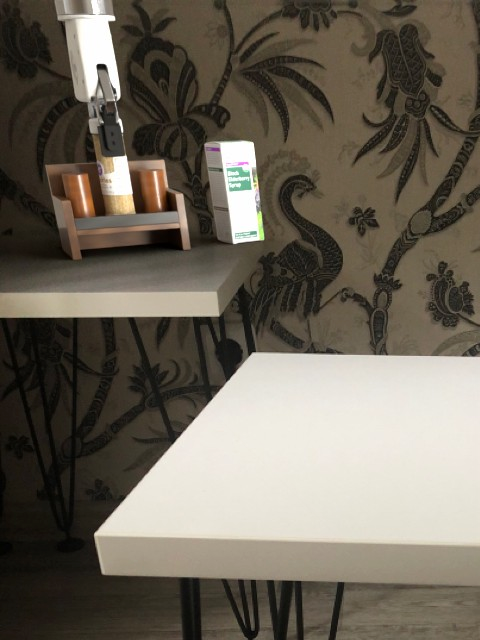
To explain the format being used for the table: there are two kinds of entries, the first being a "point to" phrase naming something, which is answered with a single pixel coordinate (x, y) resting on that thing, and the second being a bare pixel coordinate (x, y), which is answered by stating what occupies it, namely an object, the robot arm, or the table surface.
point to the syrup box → (234, 191)
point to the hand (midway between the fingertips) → (110, 154)
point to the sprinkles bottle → (113, 178)
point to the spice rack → (116, 230)
